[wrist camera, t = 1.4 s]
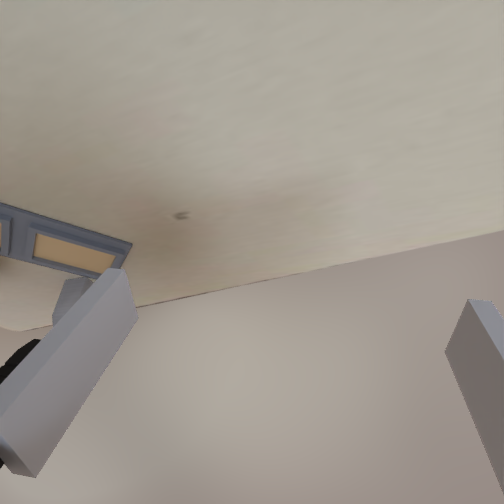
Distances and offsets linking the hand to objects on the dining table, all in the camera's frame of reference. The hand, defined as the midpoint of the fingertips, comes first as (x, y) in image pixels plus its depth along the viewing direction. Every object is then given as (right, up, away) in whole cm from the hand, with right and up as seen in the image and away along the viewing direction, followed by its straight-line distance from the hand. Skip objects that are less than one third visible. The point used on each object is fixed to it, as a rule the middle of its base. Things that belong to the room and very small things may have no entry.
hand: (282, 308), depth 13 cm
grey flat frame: (-31, +4, +28) cm, 42 cm away
